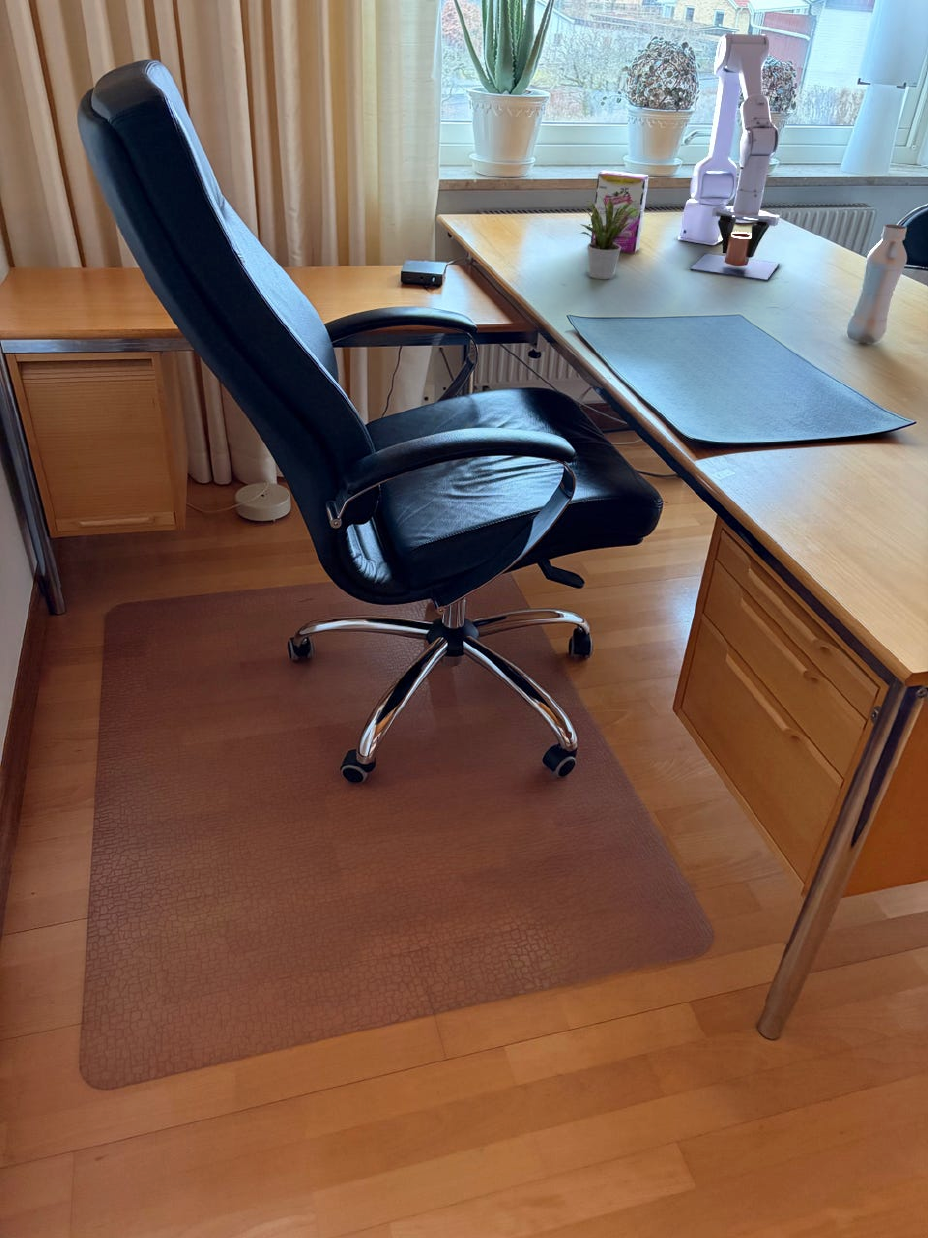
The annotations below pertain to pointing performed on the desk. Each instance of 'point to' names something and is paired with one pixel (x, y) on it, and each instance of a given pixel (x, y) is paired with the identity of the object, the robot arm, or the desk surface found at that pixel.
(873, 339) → the plastic bottle
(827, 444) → the desk surface
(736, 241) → the cup
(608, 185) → the candy bar box
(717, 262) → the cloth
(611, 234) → the house plant
